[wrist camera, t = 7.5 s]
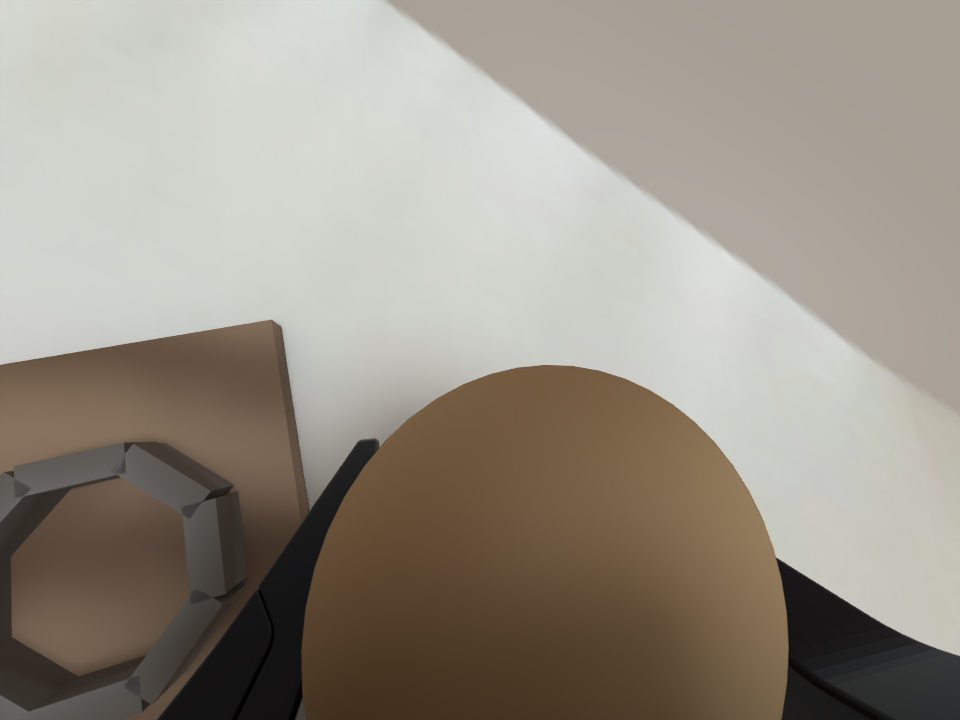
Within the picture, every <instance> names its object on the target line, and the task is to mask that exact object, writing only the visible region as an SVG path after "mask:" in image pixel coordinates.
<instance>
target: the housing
mask: <svg viewBox="0 0 960 720" xmlns="http://www.w3.org/2000/svg"><path fill="white" fill-rule="evenodd" d="M308 513H309V510H308V503H307V496H306V490H305V483H304V476H303V470H302V463H301V456H300V450H299V443H298V436H297V430H296V423H295V417H294V410H293V403H292V397H291V390H290V383H289V377H288V370H287V363H286V357H285V350H284V343H283V337H282V330H281V326H279V325H278V324H277V323H275V322H274V321H273V320H267V321H261V322H255V323H249V324H243V325H237V326H231V327H225V328H219V329H213V330H207V331H201V332H195V333H189V334H183V335H177V336H171V337H165V338H159V339H153V340H147V341H141V342H135V343H129V344H123V345H117V346H111V347H105V348H99V349H93V350H87V351H81V352H75V353H69V354H63V355H57V356H51V357H45V358H39V359H33V360H27V361H21V362H15V363H9V364H3V365H0V720H157V718H158V717H159V716H160V715H161V713H162V712H163V711H164V710H165V709H166V707H167V706H168V705H169V704H170V702H171V701H172V700H173V699H174V697H175V696H176V695H177V694H178V693H179V691H180V690H181V689H182V687H183V686H184V685H185V684H186V682H187V681H188V680H189V679H190V677H191V676H192V675H193V673H194V672H195V671H196V670H197V668H198V667H199V666H200V665H201V663H202V662H203V661H204V659H205V658H206V657H207V656H208V654H209V653H210V652H211V651H212V649H213V648H214V647H215V645H216V644H217V642H218V641H219V640H220V638H221V637H222V636H223V634H224V633H225V631H226V630H227V629H228V627H229V626H230V625H231V623H232V622H233V620H234V619H235V618H236V616H237V615H238V614H239V612H240V611H241V609H242V608H243V606H244V605H245V603H246V602H247V601H248V599H249V598H250V596H251V595H252V593H253V592H254V591H255V590H259V589H258V585H259V584H260V582H261V581H262V579H263V578H264V576H265V575H266V573H267V572H268V571H269V569H270V568H271V566H272V565H273V563H274V562H275V561H276V559H277V558H278V556H279V555H280V553H281V552H282V550H283V549H284V548H285V546H286V545H287V543H288V542H289V540H290V539H291V537H292V536H293V535H294V533H295V532H296V530H297V529H298V527H299V526H300V525H301V523H302V522H303V520H304V519H305V517H306V516H307V514H308Z"/></svg>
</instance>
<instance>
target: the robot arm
mask: <svg viewBox="0 0 960 720" xmlns="http://www.w3.org/2000/svg"><path fill="white" fill-rule="evenodd" d="M379 448H380V447H379V442H378V440H377V439H375V438H374V439H364V440H360V441H358V443H357V444H356V445H355V447H354V448H353V450H352V451H351V453H350V454H349V455H348V457H347V458H346V460H345V461H344V463H343V464H342V465H341V467H340V468H339V470H338V471H337V473H336V474H335V476H334V477H333V478H332V480H331V481H330V483H329V484H328V486H327V487H326V489H325V490H324V491H323V493H322V494H321V496H320V497H319V499H318V500H317V501H316V503H315V504H314V506H313V507H312V509H311V510H310V512H309V513H308V514H307V516H306V517H305V519H304V520H303V522H302V523H301V525H300V526H299V527H298V529H297V530H296V532H295V533H294V535H293V536H292V537H291V539H290V540H289V542H288V543H287V545H286V546H285V548H284V549H283V550H282V552H281V553H280V555H279V556H278V558H277V559H276V561H275V562H274V563H273V565H272V566H271V568H270V569H269V571H268V572H267V573H266V575H265V576H264V578H263V579H262V581H261V582H260V584H259V585H258V589H259V590H255V591H254V592H253V593H252V595H251V596H250V598H249V599H248V601H247V602H246V603H245V605H244V606H243V608H242V609H241V611H240V612H239V614H238V615H237V616H236V618H235V619H234V620H233V622H232V623H231V625H230V626H229V627H228V629H227V630H226V631H225V633H224V634H223V636H222V637H221V638H220V640H219V641H218V642H217V644H216V645H215V647H214V648H213V649H212V651H211V652H210V653H209V654H208V656H207V657H206V658H205V659H204V661H203V662H202V663H201V665H200V666H199V667H198V668H197V670H196V671H195V672H194V673H193V675H192V676H191V677H190V679H189V680H188V681H187V682H186V684H185V685H184V686H183V687H182V689H181V690H180V691H179V693H178V694H177V695H176V696H175V697H174V699H173V700H172V701H171V702H170V704H169V705H168V706H167V707H166V709H165V710H164V711H163V712H162V713H161V715H160V716H159V717H158V718H157V720H306V715H305V708H304V701H303V694H302V654H301V649H302V640H303V630H304V620H305V610H306V605H307V600H308V596H309V591H310V587H311V582H312V578H313V573H314V569H315V566H316V563H317V560H318V557H319V554H320V552H321V549H322V546H323V543H324V540H325V537H326V534H327V532H328V529H329V527H330V525H331V523H332V521H333V519H334V517H335V515H336V513H337V511H338V509H339V507H340V505H341V503H342V501H343V499H344V497H345V495H346V494H347V492H348V491H349V489H350V488H351V486H352V485H353V483H354V482H355V480H356V478H357V477H358V475H359V474H360V472H361V471H362V469H363V468H364V466H365V465H366V464H367V463H368V461H369V460H370V459H371V458H372V457H373V455H374V454H375V453H376V452H377V451H378V450H379ZM776 560H777V564H778V568H779V572H780V576H781V580H782V586H783V592H784V599H785V605H786V612H787V627H788V645H789V649H788V672H787V686H786V693H785V699H784V706H783V713H782V719H781V720H960V656H958V655H955V654H951V653H948V652H945V651H942V650H939V649H936V648H934V647H931V646H929V645H926V644H923V643H921V642H919V641H916V640H914V639H912V638H910V637H908V636H905V635H903V634H901V633H899V632H897V631H896V630H894V629H892V628H890V627H888V626H886V625H884V624H883V623H881V622H879V621H877V620H876V619H874V618H872V617H871V616H869V615H867V614H866V613H864V612H863V611H861V610H859V609H858V608H856V607H855V606H853V605H851V604H850V603H848V602H847V601H845V600H843V599H842V598H840V597H838V596H837V595H835V594H834V593H832V592H830V591H829V590H827V589H826V588H824V587H822V586H821V585H819V584H818V583H816V582H814V581H813V580H811V579H810V578H808V577H806V576H805V575H803V574H802V573H800V572H798V571H797V570H795V569H793V568H792V567H790V566H789V565H787V564H786V563H784V562H782V561H781V560H779V559H778V558H776Z"/></svg>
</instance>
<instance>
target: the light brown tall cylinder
mask: <svg viewBox="0 0 960 720" xmlns="http://www.w3.org/2000/svg"><path fill="white" fill-rule="evenodd" d="M788 649H789V645H788V627H787V612H786V605H785V599H784V592H783V586H782V580H781V576H780V572H779V568H778V564H777V560H776V556H775V553H774V549H773V546H772V543H771V540H770V538H769V535H768V532H767V530H766V527H765V524H764V521H763V519H762V517H761V515H760V513H759V510H758V508H757V506H756V504H755V502H754V500H753V498H752V496H751V494H750V492H749V490H748V489H747V487H746V485H745V484H744V482H743V481H742V479H741V477H740V476H739V474H738V473H737V471H736V470H735V468H734V466H733V465H732V464H731V462H730V461H729V460H728V459H727V457H726V456H725V455H724V453H723V452H722V451H721V450H720V448H719V447H718V446H717V445H716V443H715V442H714V441H713V440H712V439H711V438H710V437H709V436H708V435H707V434H706V433H705V432H704V431H703V430H702V429H701V428H700V427H699V426H698V425H697V424H696V423H695V422H694V421H693V420H691V419H690V418H689V417H688V416H686V415H685V414H684V413H683V412H681V411H680V410H679V409H678V408H676V407H675V406H674V405H673V404H671V403H669V402H668V401H666V400H665V399H663V398H661V397H660V396H658V395H657V394H655V393H653V392H652V391H650V390H648V389H646V388H644V387H642V386H639V385H637V384H635V383H633V382H631V381H629V380H626V379H624V378H621V377H617V376H614V375H611V374H608V373H605V372H602V371H598V370H592V369H586V368H580V367H575V366H556V365H541V366H531V367H520V368H515V369H510V370H506V371H502V372H498V373H493V374H490V375H487V376H484V377H482V378H479V379H476V380H474V381H471V382H469V383H466V384H463V385H461V386H459V387H458V388H456V389H454V390H452V391H450V392H448V393H447V394H445V395H443V396H441V397H439V398H437V399H436V400H434V401H433V402H431V403H430V404H429V405H427V406H426V407H425V408H423V409H422V410H420V411H419V412H418V413H416V414H415V415H413V416H412V417H411V418H410V419H408V420H407V421H406V422H405V423H404V424H403V425H402V426H401V427H400V428H399V429H398V430H397V431H396V432H395V433H393V434H392V435H391V436H390V437H389V438H388V439H387V440H386V441H385V442H384V444H383V445H382V446H381V447H380V448H379V450H378V451H377V452H376V453H375V454H374V455H373V457H372V458H371V459H370V460H369V461H368V463H367V464H366V465H365V466H364V468H363V469H362V471H361V472H360V474H359V475H358V477H357V478H356V480H355V482H354V483H353V485H352V486H351V488H350V489H349V491H348V492H347V494H346V495H345V497H344V499H343V501H342V503H341V505H340V507H339V509H338V511H337V513H336V515H335V517H334V519H333V521H332V523H331V525H330V527H329V529H328V532H327V534H326V537H325V540H324V543H323V546H322V549H321V552H320V554H319V557H318V560H317V563H316V566H315V569H314V573H313V578H312V582H311V587H310V591H309V596H308V600H307V605H306V610H305V620H304V630H303V640H302V649H301V654H302V694H303V701H304V708H305V715H306V720H781V719H782V713H783V706H784V699H785V693H786V686H787V672H788Z"/></svg>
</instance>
